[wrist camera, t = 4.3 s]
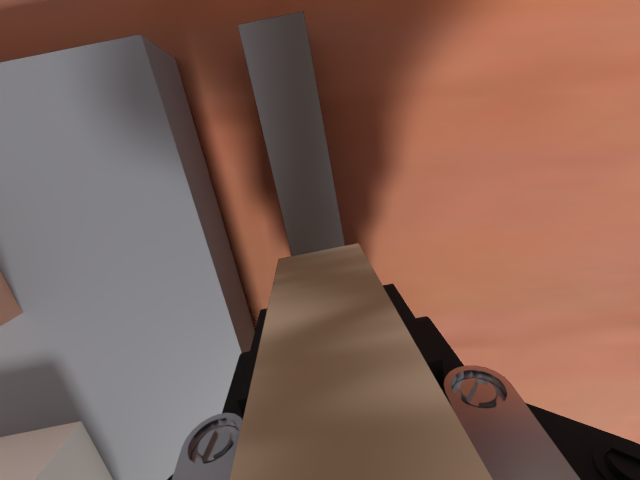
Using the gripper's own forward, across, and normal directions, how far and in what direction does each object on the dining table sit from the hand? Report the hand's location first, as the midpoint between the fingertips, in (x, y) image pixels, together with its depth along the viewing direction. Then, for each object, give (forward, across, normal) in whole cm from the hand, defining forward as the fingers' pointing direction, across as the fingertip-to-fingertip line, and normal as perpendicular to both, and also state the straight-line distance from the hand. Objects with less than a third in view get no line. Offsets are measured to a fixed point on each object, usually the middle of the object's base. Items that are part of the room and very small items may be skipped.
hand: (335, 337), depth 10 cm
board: (+4, +11, 0) cm, 12 cm away
